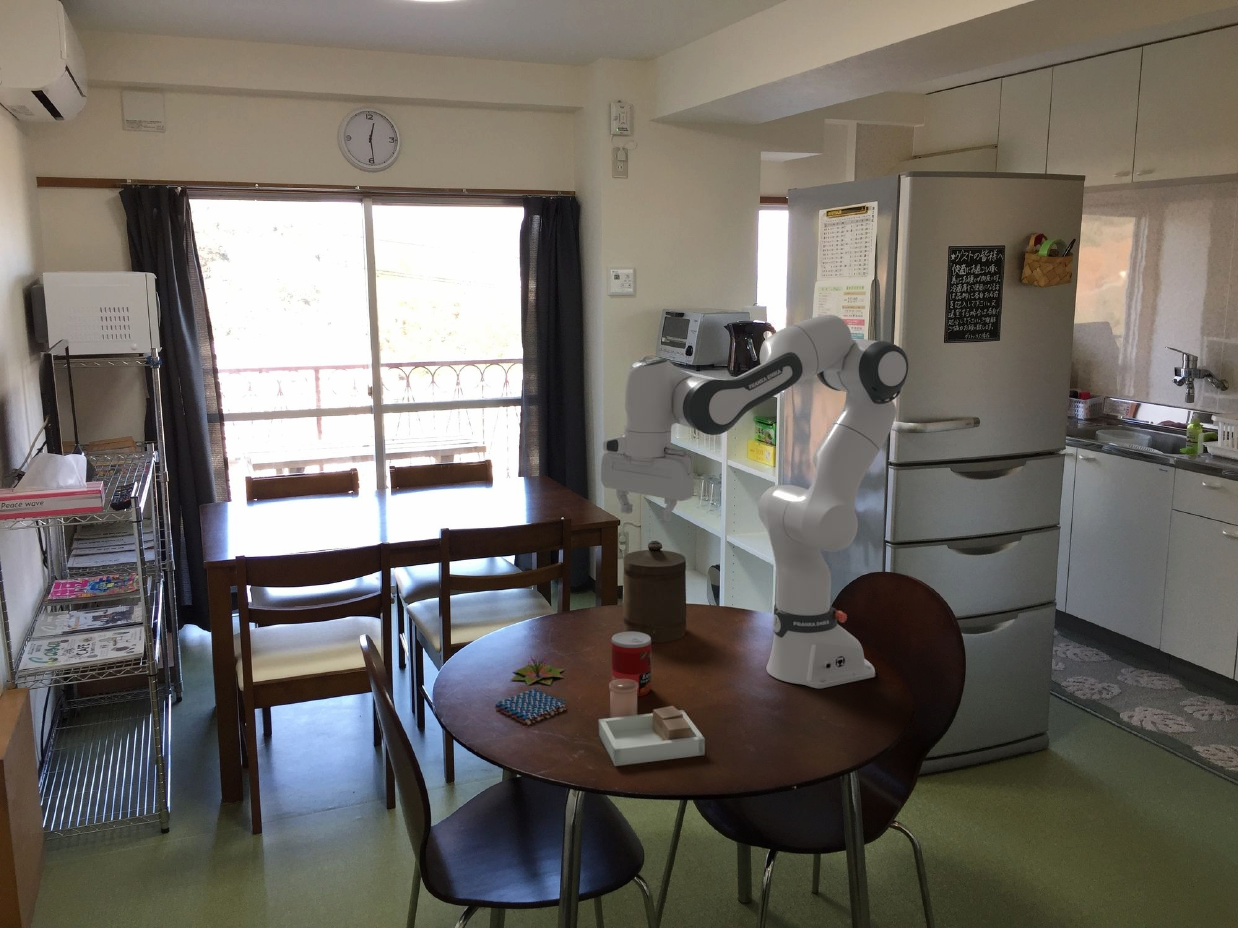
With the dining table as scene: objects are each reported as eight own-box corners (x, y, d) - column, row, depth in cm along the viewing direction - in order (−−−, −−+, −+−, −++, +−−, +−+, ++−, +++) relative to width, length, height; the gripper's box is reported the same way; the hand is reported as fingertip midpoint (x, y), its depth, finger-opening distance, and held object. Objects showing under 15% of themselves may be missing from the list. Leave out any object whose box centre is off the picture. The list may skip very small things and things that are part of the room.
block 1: (672, 726, 176) (672, 705, 176) (682, 735, 173) (683, 714, 172) (652, 730, 175) (653, 709, 174) (662, 739, 171) (663, 718, 170)
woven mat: (570, 711, 185) (570, 701, 185) (526, 728, 178) (526, 718, 178) (535, 695, 193) (535, 685, 192) (492, 711, 185) (492, 701, 185)
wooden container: (656, 617, 237) (657, 530, 234) (698, 633, 226) (700, 542, 222) (610, 630, 228) (609, 540, 224) (651, 648, 217) (652, 553, 213)
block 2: (683, 738, 171) (683, 717, 171) (690, 748, 168) (691, 727, 167) (662, 741, 170) (662, 720, 170) (668, 751, 167) (668, 729, 166)
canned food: (647, 699, 190) (647, 645, 188) (607, 695, 191) (607, 643, 189) (654, 683, 197) (654, 632, 195) (615, 680, 199) (615, 629, 197)
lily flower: (499, 685, 198) (499, 664, 197) (522, 663, 209) (522, 643, 208) (554, 692, 194) (554, 670, 193) (574, 670, 205) (574, 649, 205)
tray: (682, 724, 178) (683, 709, 178) (704, 754, 167) (704, 738, 166) (598, 734, 174) (598, 719, 174) (614, 765, 163) (614, 749, 162)
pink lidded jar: (633, 712, 184) (633, 677, 183) (641, 724, 179) (641, 688, 177) (606, 715, 182) (606, 680, 181) (613, 727, 177) (613, 691, 176)
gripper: (702, 449, 177) (699, 522, 179) (617, 437, 190) (616, 506, 192) (682, 453, 172) (679, 528, 175) (596, 441, 185) (595, 511, 187)
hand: (645, 516), depth 183 cm, fingers open, 8 cm apart
